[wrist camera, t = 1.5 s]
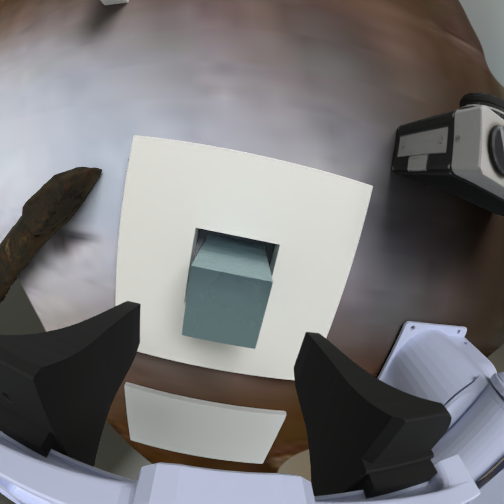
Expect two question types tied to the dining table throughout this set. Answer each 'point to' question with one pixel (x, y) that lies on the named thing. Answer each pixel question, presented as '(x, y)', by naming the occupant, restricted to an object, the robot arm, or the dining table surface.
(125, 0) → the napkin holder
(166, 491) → the robot arm
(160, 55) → the dining table surface
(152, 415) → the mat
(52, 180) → the dark brown wooden bar
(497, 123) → the camera
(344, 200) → the plate
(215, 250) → the teal rectangular block
